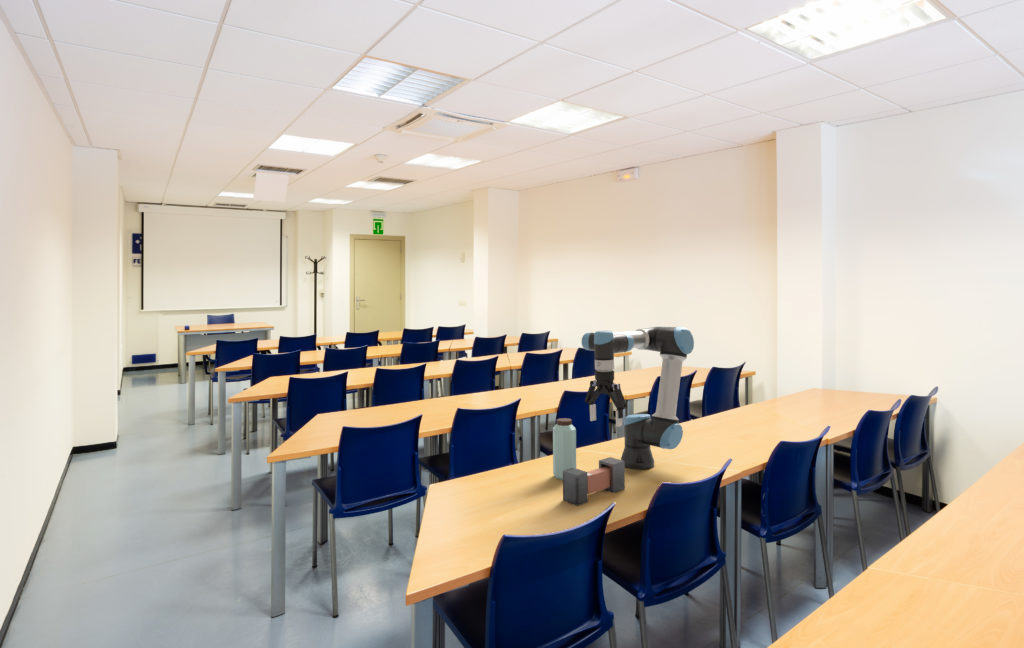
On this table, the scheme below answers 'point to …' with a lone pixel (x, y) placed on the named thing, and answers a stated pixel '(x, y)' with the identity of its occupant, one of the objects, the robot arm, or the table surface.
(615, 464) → the sleeve
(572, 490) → the socket
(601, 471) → the pink rectangular block
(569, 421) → the water bottle
